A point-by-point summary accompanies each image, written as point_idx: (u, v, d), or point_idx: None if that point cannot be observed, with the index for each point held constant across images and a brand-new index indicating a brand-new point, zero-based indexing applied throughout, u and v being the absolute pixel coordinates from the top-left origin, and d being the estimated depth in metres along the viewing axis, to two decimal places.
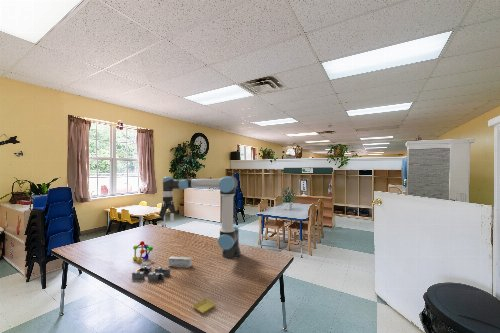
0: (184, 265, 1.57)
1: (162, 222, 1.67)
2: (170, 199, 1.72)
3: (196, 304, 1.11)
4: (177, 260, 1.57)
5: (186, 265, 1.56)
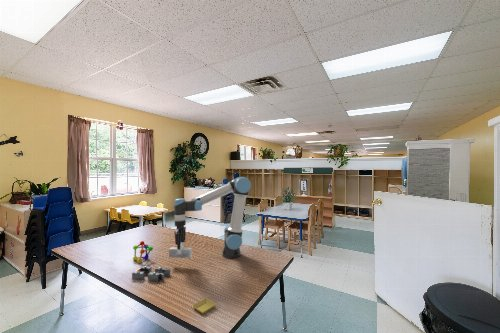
0: (185, 255, 1.57)
1: (178, 250, 1.57)
2: (183, 223, 1.57)
3: (196, 304, 1.11)
4: None
5: (187, 255, 1.57)
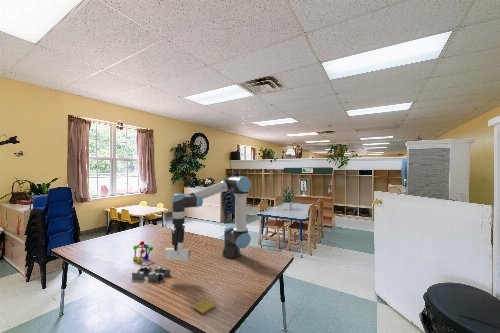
0: (182, 257, 1.40)
1: (175, 252, 1.40)
2: (181, 221, 1.40)
3: (196, 304, 1.11)
4: None
5: (184, 257, 1.39)
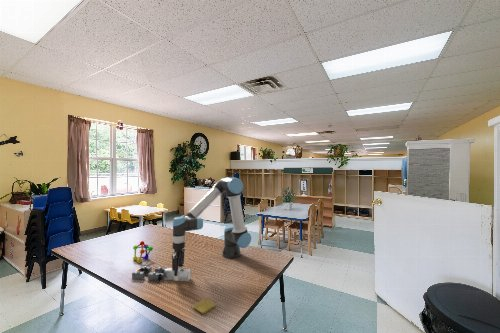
0: (182, 278, 1.37)
1: (175, 277, 1.37)
2: (182, 246, 1.38)
3: (196, 304, 1.11)
4: None
5: (184, 278, 1.37)
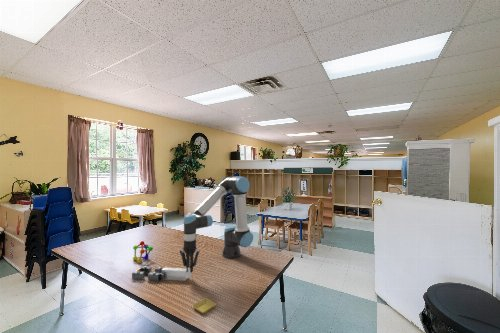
0: (179, 277, 1.38)
1: None
2: (185, 244, 1.36)
3: (196, 304, 1.11)
4: (171, 271, 1.39)
5: (182, 277, 1.38)
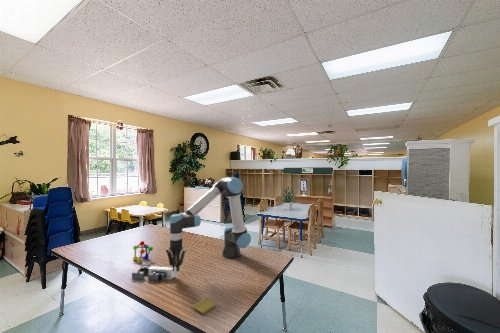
0: (166, 276, 1.39)
1: None
2: (171, 243, 1.38)
3: (196, 304, 1.11)
4: (158, 270, 1.40)
5: (168, 276, 1.39)
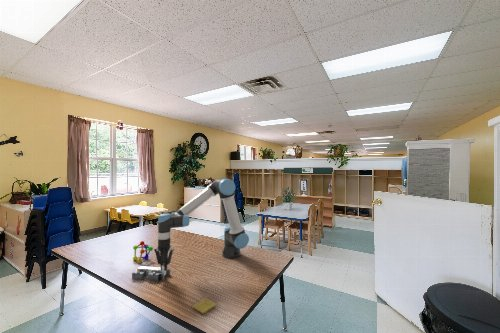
0: None
1: None
2: (158, 243, 1.39)
3: (196, 304, 1.11)
4: (146, 270, 1.42)
5: None
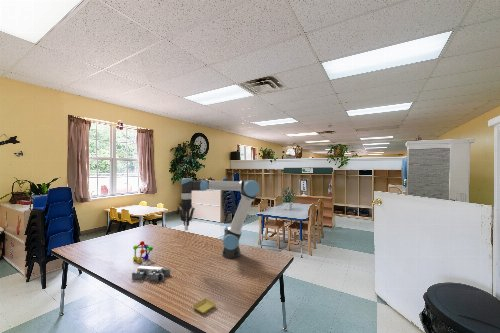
0: None
1: None
2: (182, 202, 1.63)
3: (196, 304, 1.11)
4: (146, 270, 1.42)
5: None
